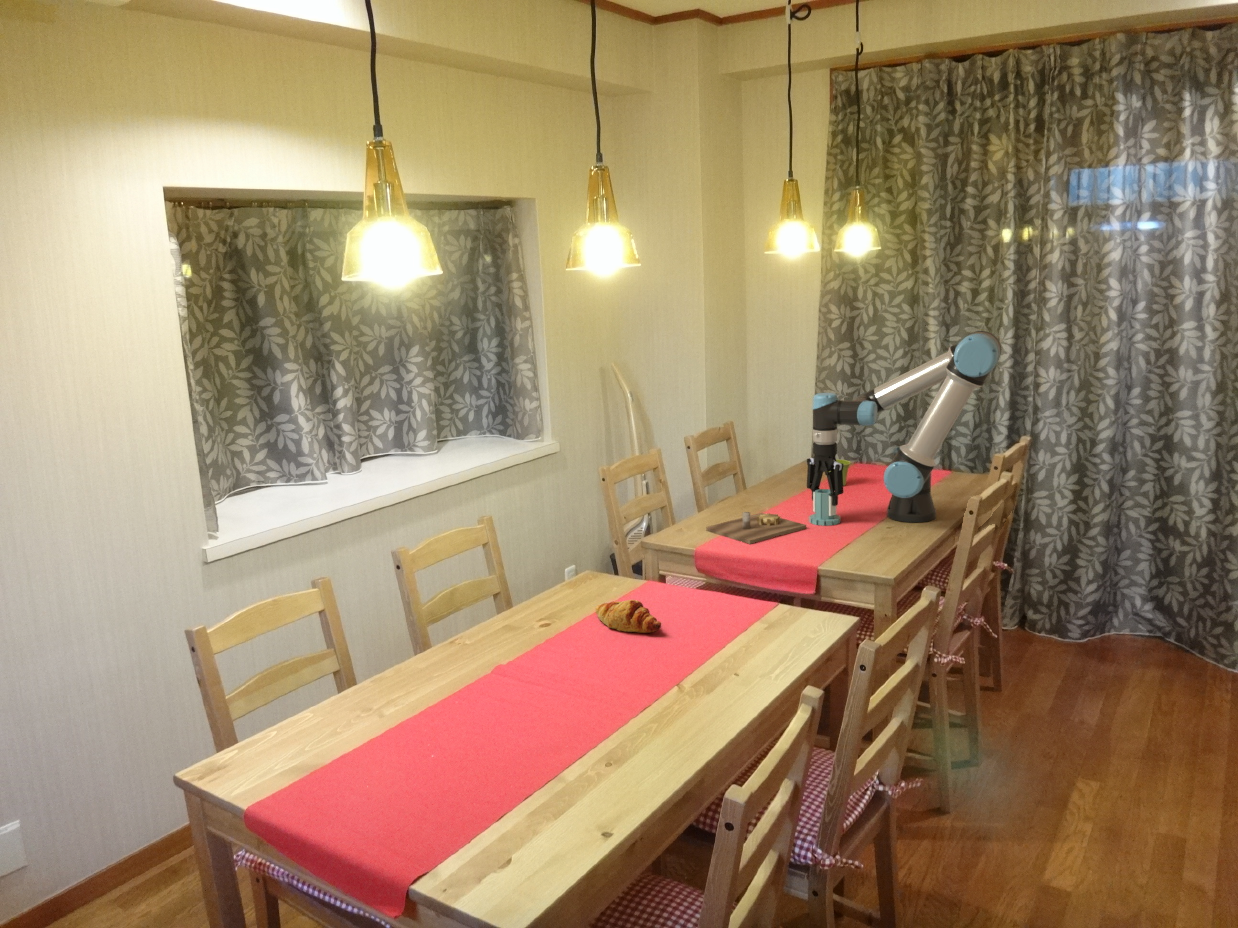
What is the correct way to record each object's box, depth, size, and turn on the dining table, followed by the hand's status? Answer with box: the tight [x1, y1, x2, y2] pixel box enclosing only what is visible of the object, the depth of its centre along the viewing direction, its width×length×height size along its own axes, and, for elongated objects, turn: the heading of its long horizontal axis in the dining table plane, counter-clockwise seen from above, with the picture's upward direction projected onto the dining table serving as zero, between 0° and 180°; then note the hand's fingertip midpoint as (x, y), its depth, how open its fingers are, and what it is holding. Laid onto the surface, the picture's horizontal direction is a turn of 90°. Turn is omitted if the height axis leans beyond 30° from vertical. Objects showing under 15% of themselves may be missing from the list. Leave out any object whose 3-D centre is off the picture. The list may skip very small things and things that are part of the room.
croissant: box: [595, 599, 662, 634], centre depth 236 cm, size 21×10×8 cm, turn 47°
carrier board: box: [705, 511, 807, 545], centre depth 310 cm, size 20×24×6 cm
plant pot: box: [829, 458, 852, 487], centre depth 361 cm, size 9×9×9 cm
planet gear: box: [808, 488, 841, 527], centre depth 315 cm, size 10×10×10 cm
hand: (824, 512), depth 315 cm, fingers closed on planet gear, 6 cm apart
